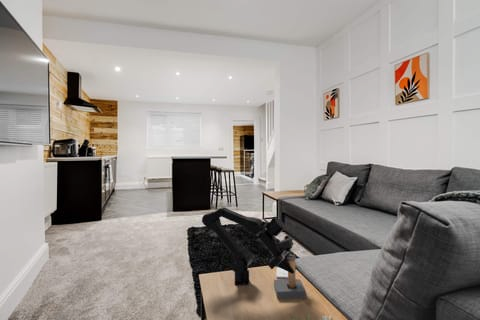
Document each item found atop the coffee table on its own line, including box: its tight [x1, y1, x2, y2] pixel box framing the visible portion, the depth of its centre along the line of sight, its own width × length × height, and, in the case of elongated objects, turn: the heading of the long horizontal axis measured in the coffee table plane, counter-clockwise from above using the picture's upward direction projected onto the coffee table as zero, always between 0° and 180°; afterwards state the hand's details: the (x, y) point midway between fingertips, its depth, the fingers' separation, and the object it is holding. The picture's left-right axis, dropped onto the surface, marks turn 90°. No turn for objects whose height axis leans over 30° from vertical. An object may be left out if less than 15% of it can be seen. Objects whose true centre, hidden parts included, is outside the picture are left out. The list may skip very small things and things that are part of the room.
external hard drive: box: [276, 267, 288, 280], centre depth 124 cm, size 2×8×12 cm
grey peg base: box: [273, 278, 307, 300], centre depth 106 cm, size 12×10×3 cm
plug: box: [287, 254, 297, 288], centre depth 105 cm, size 4×4×13 cm
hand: (294, 271), depth 104 cm, fingers closed on plug, 3 cm apart
